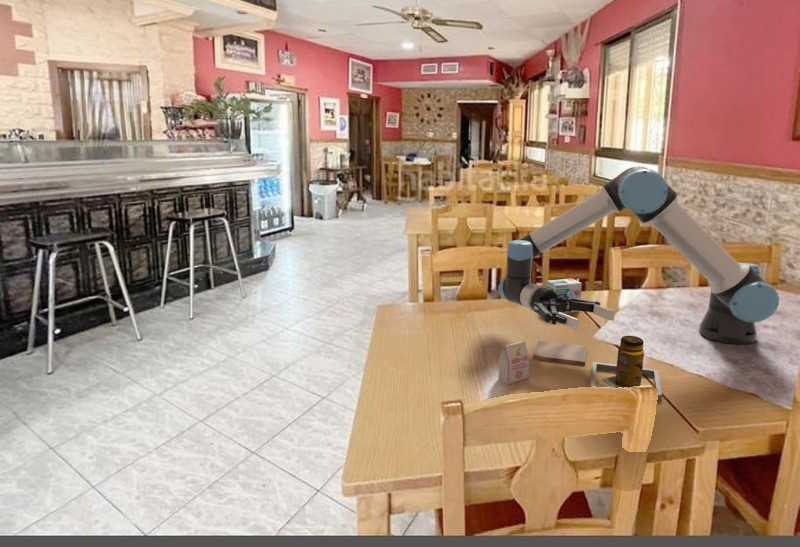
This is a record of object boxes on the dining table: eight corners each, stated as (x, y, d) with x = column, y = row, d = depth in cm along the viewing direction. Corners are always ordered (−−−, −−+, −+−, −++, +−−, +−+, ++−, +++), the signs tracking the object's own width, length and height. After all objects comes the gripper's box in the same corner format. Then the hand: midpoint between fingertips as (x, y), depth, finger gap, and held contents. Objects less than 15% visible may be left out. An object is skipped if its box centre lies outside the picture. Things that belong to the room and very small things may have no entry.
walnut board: (586, 349, 159) (587, 346, 158) (584, 365, 148) (585, 361, 148) (538, 343, 164) (538, 340, 163) (532, 358, 153) (533, 355, 153)
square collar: (657, 375, 141) (657, 369, 141) (661, 401, 128) (662, 395, 127) (592, 366, 147) (592, 361, 146) (590, 391, 133) (590, 385, 133)
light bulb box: (553, 314, 189) (555, 285, 187) (544, 308, 196) (545, 280, 193) (580, 311, 192) (582, 282, 189) (570, 306, 198) (572, 277, 196)
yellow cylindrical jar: (648, 387, 135) (653, 342, 132) (618, 391, 133) (622, 346, 130) (630, 375, 142) (634, 332, 139) (601, 378, 140) (604, 335, 137)
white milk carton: (498, 379, 141) (499, 343, 138) (518, 374, 144) (520, 338, 141) (507, 385, 137) (508, 348, 135) (528, 379, 140) (529, 343, 138)
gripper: (569, 304, 167) (626, 325, 149) (506, 318, 155) (560, 342, 137) (570, 281, 165) (629, 299, 147) (507, 293, 153) (562, 314, 135)
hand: (596, 320), depth 142 cm, fingers open, 13 cm apart
